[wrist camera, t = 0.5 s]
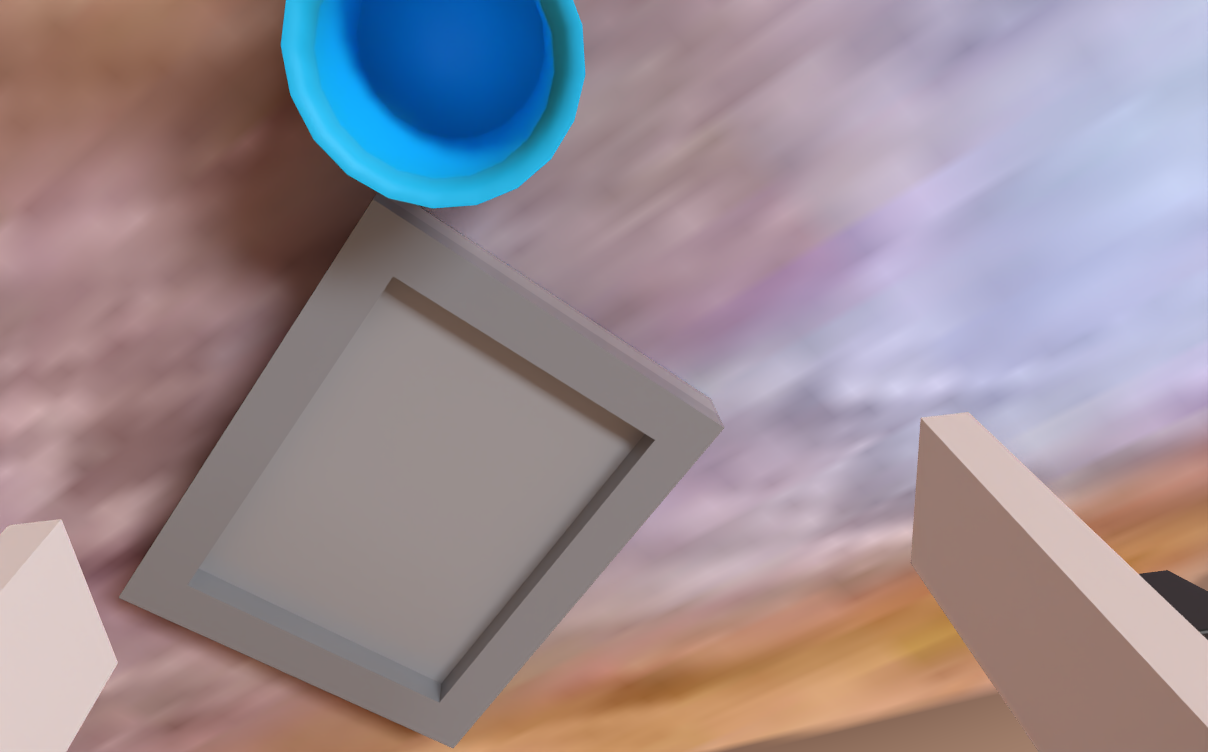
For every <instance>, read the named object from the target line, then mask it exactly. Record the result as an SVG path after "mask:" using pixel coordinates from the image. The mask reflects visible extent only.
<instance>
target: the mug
mask: <svg viewBox="0 0 1208 752" xmlns="http://www.w3.org/2000/svg"><path fill="white" fill-rule="evenodd" d="M281 49H282V54H283V59H284V65H285V70H286V75H287V80H288V85H289V90H290V95H291V97H292V99H293V101H294V103H295V105H296V107H297V109H298V111H299V113H300V114H301V116H302V118H303V120H304V122H305V124H306V126H307V128H308V130H309V132H310V134H311V135H312V137H313V139H314V140H315V141H316V143H317V144H318V145H319V146H320V147H321V148H322V149H323V150H324V151H325V152H326V153H327V154H328V155H329V156H330V157H331V158H332V159H333V160H334V161H335V162H336V163H337V164H338V165H339V166H340V168H341V169H342V170H343V171H344V172H345V173H346V174H347V175H349V176H351V177H352V178H354V179H356V180H358V181H359V182H361V183H363V184H364V185H366V186H368V187H370V188H371V189H373V190H375V191H377V192H378V193H380V194H382V195H384V196H385V197H387V198H390V199H394V200H398V201H403V202H407V203H411V204H416V205H420V206H424V207H429V208H444V207H457V206H470V205H478V204H480V203H483V202H485V201H488V200H490V199H493V198H495V197H497V196H500V195H502V194H505V193H507V192H509V191H512V190H514V189H517V188H518V187H519V186H521V185H522V184H523V183H524V182H525V181H526V180H527V179H529V178H530V177H531V176H532V175H533V174H534V173H536V172H537V171H538V170H539V169H540V168H541V167H543V166H544V165H545V164H546V163H547V162H548V161H550V160H551V158H552V157H553V155H554V153H555V152H556V150H557V148H558V147H559V145H560V143H561V142H562V140H563V138H564V137H565V135H566V133H567V132H568V130H569V128H570V127H571V125H572V124H573V122H574V120H575V116H576V112H577V107H578V103H579V99H580V95H581V91H582V87H583V82H584V78H585V60H584V44H583V28H582V23H581V20H580V18H579V15H578V12H577V10H576V7H575V4H574V2H573V0H286V4H285V13H284V22H283V30H282V39H281Z"/></svg>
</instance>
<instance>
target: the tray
mask: <svg viewBox="0 0 1208 752" xmlns="http://www.w3.org/2000/svg"><path fill="white" fill-rule="evenodd" d="M723 429H724V426H723V424H722V422H721V419H720V417H719V415H718V413H717V411H716V409H715V407H714V405H713V402H712V400H711V399H710V398H709V397H707V396H706V395H704V394H703V393H701V392H699V391H698V390H696V389H695V388H693V387H692V386H690V385H689V384H687V383H686V382H684V381H683V380H681V379H680V378H678V377H677V376H675V375H674V374H672V373H671V372H669V371H668V370H666V369H665V368H663V367H662V366H660V365H659V364H657V363H656V362H654V361H652V360H651V359H649V358H648V357H646V356H645V355H643V354H642V353H640V352H639V351H637V350H636V349H634V348H633V347H631V346H630V345H628V344H627V343H625V342H624V341H622V340H621V339H619V338H618V337H616V336H615V335H613V334H612V333H610V332H608V331H607V330H605V329H604V328H602V327H601V326H599V325H598V324H596V323H595V322H593V321H592V320H590V319H589V318H587V317H586V316H584V315H583V314H581V313H580V312H578V311H577V310H575V309H574V308H572V307H571V306H569V305H568V304H566V303H565V302H563V301H561V300H560V299H558V298H557V297H555V296H554V295H552V294H551V293H549V292H548V291H546V290H545V289H543V288H542V287H540V286H539V285H537V284H536V283H534V282H533V281H531V280H530V279H528V278H527V277H525V276H524V275H522V274H521V273H519V272H517V271H516V270H514V269H513V268H511V267H510V266H508V265H507V264H505V263H504V262H502V261H501V260H499V259H498V258H496V257H495V256H493V255H492V254H490V253H489V252H487V251H486V250H484V249H483V248H481V247H480V246H478V245H477V244H475V243H474V242H472V241H470V240H469V239H467V238H466V237H464V236H463V235H461V234H460V233H458V232H457V231H455V230H454V229H452V228H451V227H449V226H448V225H446V224H445V223H443V222H442V221H440V220H439V219H437V218H436V217H434V216H433V215H431V214H430V213H428V212H427V211H425V210H423V209H422V208H420V207H419V206H417V205H416V204H411V203H407V202H403V201H398V200H394V199H390V198H387V197H385V196H384V195H382V194H380V193H378V192H377V194H376V195H375V197H374V199H373V200H372V202H371V203H370V205H369V206H368V208H367V209H366V211H365V213H364V214H363V216H362V217H361V219H360V220H359V222H358V224H357V225H356V227H355V228H354V230H353V231H352V233H351V235H350V236H349V238H348V239H347V241H346V242H345V244H344V245H343V247H342V249H341V250H340V252H339V253H338V255H337V256H336V258H335V260H334V261H333V263H332V264H331V266H330V267H329V269H328V270H327V272H326V274H325V275H324V277H323V278H322V280H321V281H320V283H319V285H318V286H317V288H316V289H315V291H314V292H313V294H312V296H311V297H310V299H309V300H308V302H307V303H306V305H305V306H304V308H303V310H302V311H301V313H300V314H299V316H298V317H297V319H296V321H295V322H294V324H293V325H292V327H291V328H290V330H289V332H288V333H287V335H286V336H285V338H284V339H283V341H282V342H281V344H280V346H279V347H278V349H277V350H276V352H275V353H274V355H273V357H272V358H271V360H270V361H269V363H268V364H267V366H266V368H265V369H264V371H263V372H262V374H261V375H260V377H259V378H258V380H257V382H256V383H255V385H254V386H253V388H252V389H251V391H250V393H249V394H248V396H247V397H246V399H245V400H244V402H243V404H242V405H241V407H240V408H239V410H238V411H237V413H236V414H235V416H234V418H233V419H232V421H231V422H230V424H229V425H228V427H227V429H226V430H225V432H224V433H223V435H222V436H221V438H220V439H219V441H218V443H217V444H216V446H215V447H214V449H213V450H212V452H211V454H210V455H209V457H208V458H207V460H206V461H205V463H204V465H203V466H202V468H201V469H200V471H199V472H198V474H197V475H196V477H195V479H194V480H193V482H192V483H191V485H190V486H189V488H188V490H187V491H186V493H185V494H184V496H183V497H182V499H181V501H180V502H179V504H178V505H177V507H176V508H175V510H174V511H173V513H172V515H171V516H170V518H169V519H168V521H167V522H166V524H165V526H164V527H163V529H162V530H161V532H160V533H159V535H158V537H157V538H156V540H155V541H154V543H153V544H152V546H151V547H150V549H149V551H148V552H147V554H146V555H145V557H144V558H143V560H142V562H141V563H140V565H139V566H138V568H137V569H136V571H135V573H134V574H133V576H132V577H131V579H130V580H129V582H128V583H127V585H126V587H125V588H124V590H123V591H122V593H121V594H120V596H119V598H120V599H122V600H125V601H127V602H129V603H131V604H133V605H136V606H138V607H140V608H142V609H145V610H147V611H149V612H151V613H153V614H156V615H158V616H160V617H162V618H165V619H167V620H169V621H171V622H173V623H176V624H178V625H180V626H182V627H185V628H187V629H189V630H191V631H193V632H196V633H198V634H200V635H202V636H205V637H207V638H209V639H211V640H213V641H216V642H218V643H220V644H222V645H225V646H227V647H229V648H231V649H233V650H236V651H238V652H240V653H242V654H245V655H247V656H249V657H251V658H253V659H256V660H258V661H260V662H262V663H265V664H267V665H269V666H271V667H273V668H276V669H278V670H280V671H282V672H285V673H287V674H289V675H291V676H293V677H296V678H298V679H300V680H302V681H305V682H307V683H309V684H311V685H313V686H316V687H318V688H320V689H322V690H325V691H327V692H329V693H331V694H333V695H336V696H338V697H340V698H342V699H344V700H347V701H349V702H351V703H353V704H356V705H358V706H360V707H362V708H364V709H367V710H369V711H371V712H373V713H376V714H378V715H380V716H382V717H384V718H387V719H389V720H391V721H393V722H396V723H398V724H400V725H402V726H404V727H407V728H409V729H411V730H413V731H416V732H418V733H420V734H422V735H424V736H427V737H429V738H431V739H433V740H436V741H438V742H440V743H442V744H444V745H447V746H449V747H451V748H454V747H455V746H456V745H457V743H458V742H459V741H460V740H461V739H462V737H463V736H464V735H465V734H466V733H467V732H468V730H469V729H470V728H471V727H472V726H473V724H474V723H475V722H476V721H477V720H478V719H479V717H480V716H481V715H482V714H483V713H484V711H485V710H486V709H487V708H488V707H489V706H490V704H491V703H492V702H493V701H494V700H495V698H496V697H497V696H498V695H499V694H500V693H501V691H502V690H503V689H504V688H505V687H506V685H507V684H508V683H509V682H510V681H511V680H512V678H513V677H514V676H515V675H516V674H517V672H518V671H519V670H520V669H521V668H522V667H523V665H524V664H525V663H526V662H527V661H528V659H529V658H530V657H531V656H532V655H533V654H534V652H535V651H536V650H537V649H538V648H539V646H540V645H541V644H542V643H543V642H544V641H545V639H546V638H547V637H548V636H549V635H550V633H551V632H552V631H553V630H554V629H555V627H556V626H557V625H558V624H559V623H560V622H561V620H562V619H563V618H564V617H565V616H566V614H567V613H568V612H569V611H570V610H571V609H572V607H573V606H574V605H575V604H576V603H577V601H578V600H579V599H580V598H581V597H582V596H583V594H584V593H585V592H586V591H587V590H588V588H589V587H590V586H591V585H592V584H593V583H594V581H595V580H596V579H597V578H598V577H599V575H600V574H601V573H602V572H603V571H604V570H605V568H606V567H607V566H608V565H609V564H610V562H611V561H612V560H613V559H614V558H615V557H616V555H617V554H618V553H619V552H620V551H621V549H622V548H623V547H624V546H625V545H626V544H627V542H628V541H629V540H630V539H631V538H632V536H633V535H634V534H635V533H636V532H637V531H638V529H639V528H640V527H641V526H642V525H643V523H644V522H645V521H646V520H647V519H648V518H649V516H650V515H651V514H652V513H653V512H654V510H655V509H656V508H657V507H658V506H659V505H660V503H661V502H662V501H663V500H664V499H665V497H666V496H667V495H668V494H669V493H670V492H671V490H672V489H673V488H674V487H675V486H676V484H677V483H678V482H679V481H680V480H681V479H682V477H683V476H684V475H685V474H686V473H687V471H688V470H689V469H690V468H691V467H692V466H693V464H694V463H695V462H696V461H697V460H698V458H699V457H700V456H701V455H702V454H703V453H704V451H705V450H706V449H707V448H708V447H709V445H710V444H711V443H712V442H713V441H714V440H715V438H716V437H717V436H718V435H719V434H720V432H721V431H722V430H723Z"/></svg>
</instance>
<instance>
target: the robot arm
mask: <svg viewBox="0 0 1208 752" xmlns="http://www.w3.org/2000/svg"><path fill="white" fill-rule="evenodd" d="M911 564H912V566H913V567H914V569H915V570H916V572H917V573H918V575H919V576H920V578H921V579H922V581H923V582H924V584H925V585H926V586H927V588H928V589H929V591H930V592H931V594H932V595H933V597H934V598H935V600H936V601H937V603H938V604H939V606H940V607H941V609H942V610H943V612H944V613H945V614H946V616H947V617H948V619H949V620H950V622H951V623H952V625H953V626H954V628H955V629H956V631H957V632H958V634H959V635H960V637H961V638H962V640H963V641H964V642H965V644H966V645H967V647H968V648H969V650H970V651H971V653H972V654H973V656H974V657H975V659H976V660H977V662H978V663H979V665H980V666H981V668H982V669H983V670H984V672H985V673H986V675H987V676H988V678H989V679H990V681H991V682H992V684H993V685H994V687H995V688H996V690H997V691H998V693H999V694H1000V696H1001V697H1002V698H1003V700H1004V701H1005V703H1006V704H1007V706H1008V707H1009V709H1010V710H1011V712H1012V713H1013V715H1014V716H1015V718H1016V719H1017V721H1018V722H1019V724H1020V725H1021V726H1022V728H1023V729H1024V731H1025V732H1026V734H1027V735H1028V737H1029V738H1030V740H1031V741H1032V743H1033V744H1034V746H1035V747H1036V749H1037V750H1038V751H1039V752H1208V591H1206V590H1204V589H1202V588H1200V587H1198V586H1196V585H1194V584H1193V583H1191V582H1189V581H1187V580H1185V579H1183V578H1181V577H1179V576H1177V575H1175V574H1174V573H1172V572H1170V571H1168V570H1166V571H1158V572H1151V573H1143V574H1138V573H1137V572H1136V571H1135V570H1134V569H1133V568H1132V567H1130V566H1129V565H1128V564H1127V563H1126V562H1125V561H1124V560H1123V559H1122V558H1121V557H1120V556H1119V555H1118V554H1117V553H1116V552H1115V551H1114V550H1113V549H1112V548H1111V547H1109V546H1108V545H1107V544H1106V543H1105V542H1104V541H1103V540H1102V539H1101V538H1100V537H1099V536H1098V535H1097V534H1096V533H1095V532H1094V531H1093V530H1092V529H1091V528H1090V527H1088V526H1087V525H1086V524H1085V523H1084V522H1083V521H1082V520H1081V519H1080V518H1079V517H1078V516H1077V515H1076V514H1075V513H1074V512H1073V511H1072V510H1071V509H1070V508H1069V507H1067V506H1066V505H1065V504H1064V503H1063V502H1062V501H1061V500H1060V499H1059V498H1058V497H1057V496H1056V495H1055V494H1054V493H1053V492H1052V491H1051V490H1050V489H1049V488H1048V487H1047V486H1045V485H1044V484H1043V483H1042V482H1041V481H1040V480H1039V479H1038V478H1037V477H1036V476H1035V475H1034V474H1033V473H1032V472H1031V471H1030V470H1029V469H1028V468H1027V467H1026V466H1024V465H1023V464H1022V463H1021V462H1020V461H1019V460H1018V459H1017V458H1016V457H1015V456H1014V455H1013V454H1012V453H1011V452H1010V451H1009V450H1008V449H1007V448H1006V447H1005V446H1003V445H1002V444H1001V443H1000V442H999V441H998V440H997V439H996V438H995V437H994V436H993V435H992V434H991V433H990V432H989V431H988V430H987V429H986V428H985V427H984V426H982V425H981V424H980V423H979V422H978V421H977V420H976V419H975V418H974V417H973V416H972V415H971V414H970V413H969V412H966V413H957V414H949V415H941V416H932V417H924V418H921V422H920V437H919V451H918V465H917V480H916V494H915V509H914V523H913V537H912V552H911ZM117 664H118V662H117V659H116V657H115V654H114V652H113V649H112V647H111V644H110V641H109V639H108V636H107V634H106V631H105V629H104V626H103V624H102V621H101V619H100V616H99V613H98V611H97V608H96V606H95V603H94V601H93V598H92V596H91V593H90V591H89V588H88V585H87V583H86V580H85V578H84V575H83V573H82V570H81V568H80V565H79V563H78V560H77V557H76V555H75V552H74V550H73V547H72V545H71V542H70V540H69V537H68V535H67V532H66V530H65V527H64V524H63V522H62V519H58V520H50V521H41V522H33V523H24V524H16V525H9V526H8V527H7V528H6V529H5V530H4V531H3V532H2V533H1V534H0V752H66V751H67V750H68V748H69V746H70V745H71V743H72V741H73V739H74V738H75V736H76V734H77V732H78V731H79V729H80V727H81V726H82V724H83V722H84V720H85V719H86V717H87V715H88V714H89V712H90V710H91V708H92V707H93V705H94V703H95V702H96V700H97V698H98V696H99V695H100V693H101V691H102V690H103V688H104V686H105V684H106V683H107V681H108V679H109V678H110V676H111V674H112V672H113V671H114V669H115V667H116V665H117Z"/></svg>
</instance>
